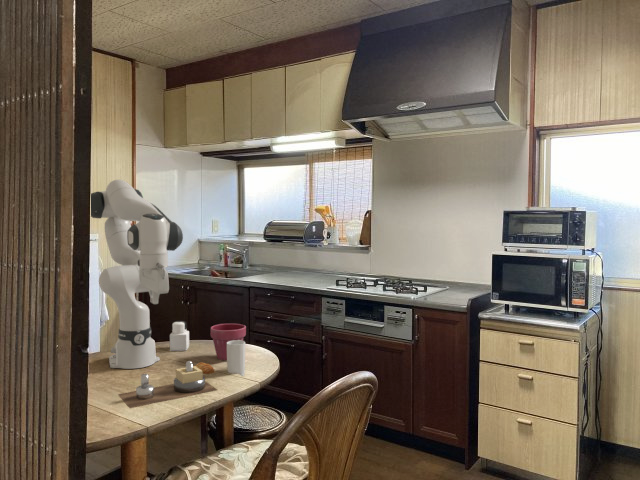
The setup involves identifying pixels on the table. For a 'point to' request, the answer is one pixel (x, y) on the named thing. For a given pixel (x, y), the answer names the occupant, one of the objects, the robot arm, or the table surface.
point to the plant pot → (226, 337)
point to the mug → (236, 357)
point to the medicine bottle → (179, 336)
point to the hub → (190, 386)
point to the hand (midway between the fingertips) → (154, 303)
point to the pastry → (205, 368)
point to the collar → (189, 375)
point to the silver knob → (144, 389)
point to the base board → (160, 395)
